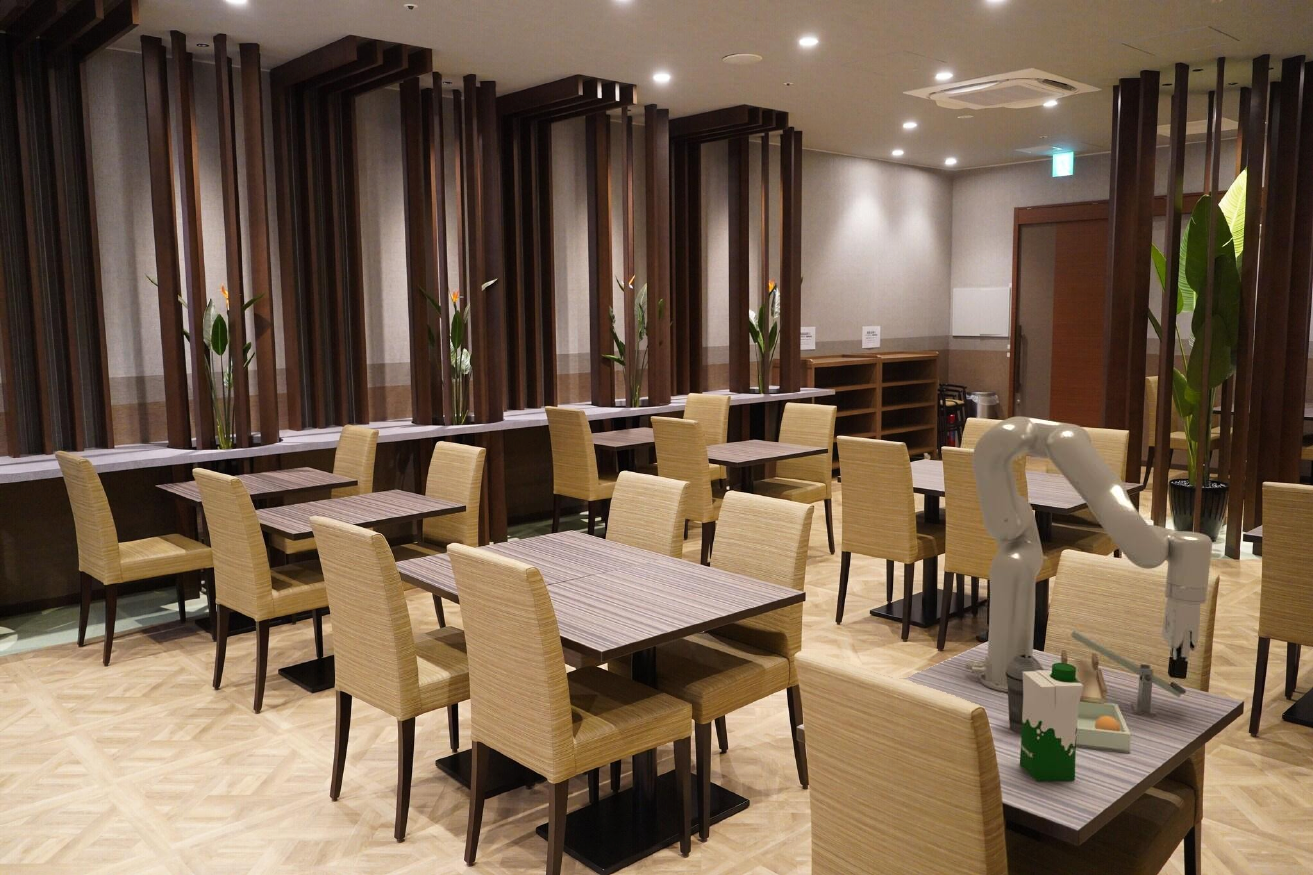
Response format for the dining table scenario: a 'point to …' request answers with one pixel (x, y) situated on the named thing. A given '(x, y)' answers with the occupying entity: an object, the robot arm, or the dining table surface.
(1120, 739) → the shallow mint tray
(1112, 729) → the ball
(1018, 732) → the beverage cup
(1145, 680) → the pivot stand
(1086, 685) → the ramp
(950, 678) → the dining table surface
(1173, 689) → the lever
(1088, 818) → the dining table surface
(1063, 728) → the milk carton
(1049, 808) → the dining table surface
